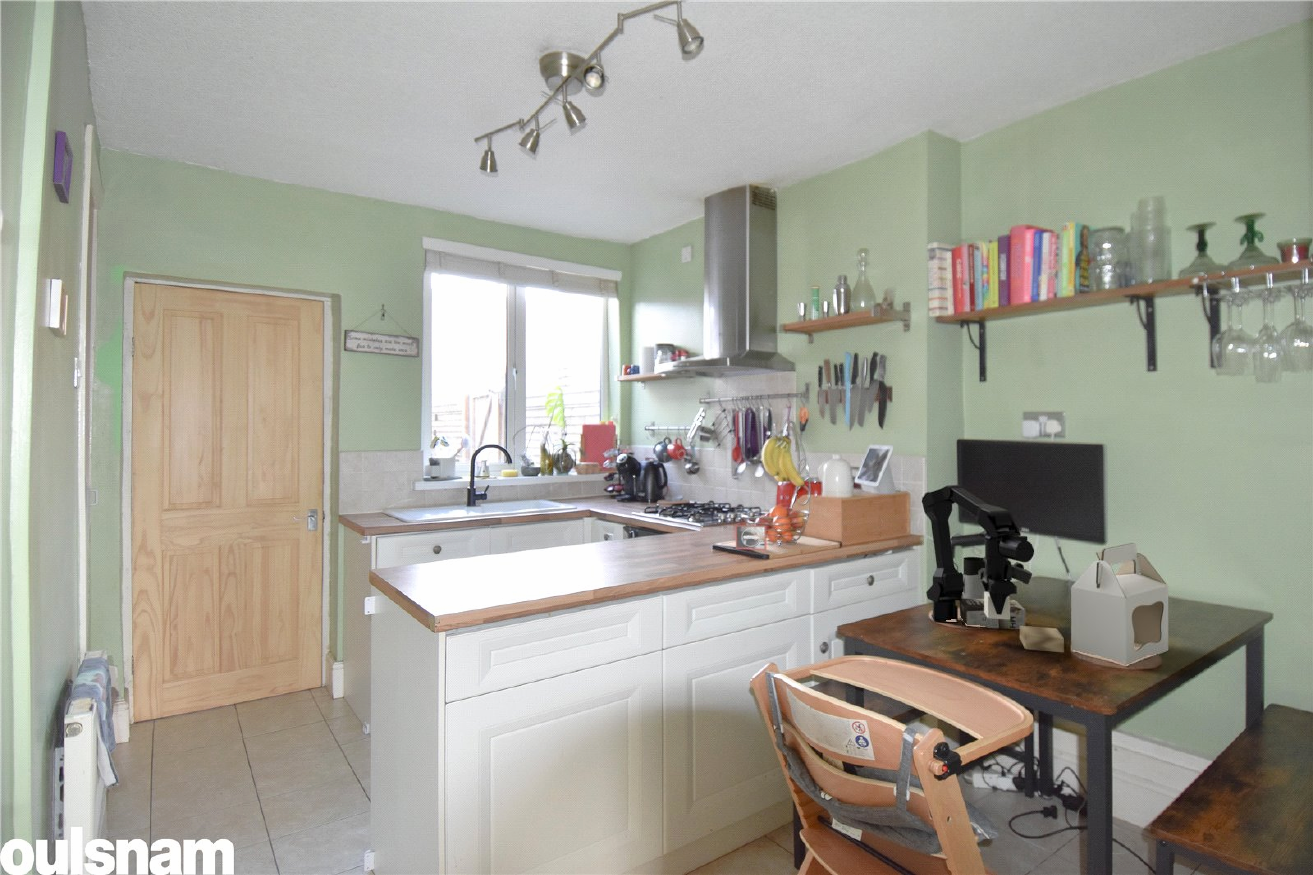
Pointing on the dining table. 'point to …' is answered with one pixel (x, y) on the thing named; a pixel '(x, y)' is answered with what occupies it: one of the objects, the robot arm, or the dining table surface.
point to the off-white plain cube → (990, 609)
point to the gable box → (1120, 607)
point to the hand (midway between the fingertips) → (996, 611)
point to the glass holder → (972, 578)
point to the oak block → (1041, 639)
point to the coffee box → (975, 616)
